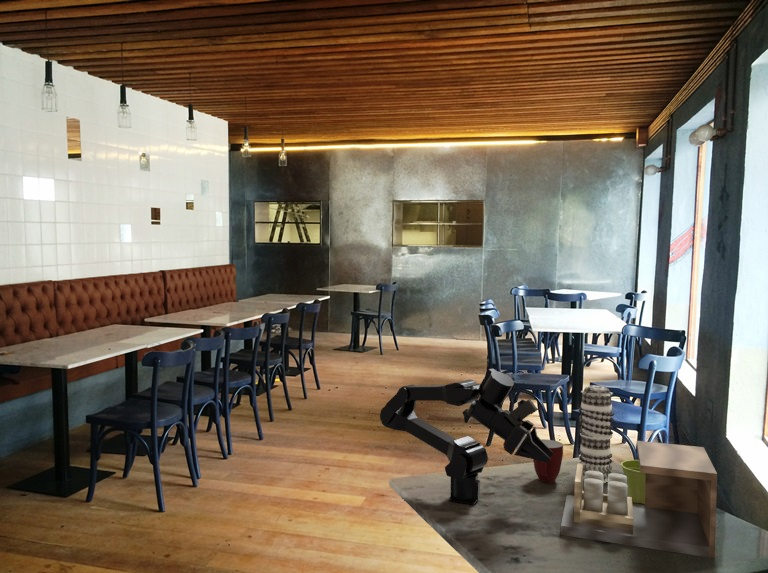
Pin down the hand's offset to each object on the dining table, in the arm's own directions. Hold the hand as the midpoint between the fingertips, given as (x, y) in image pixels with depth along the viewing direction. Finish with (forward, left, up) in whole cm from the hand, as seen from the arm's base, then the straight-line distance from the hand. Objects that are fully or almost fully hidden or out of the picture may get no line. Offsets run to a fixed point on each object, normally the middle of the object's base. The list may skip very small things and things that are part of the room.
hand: (551, 458), depth 142 cm
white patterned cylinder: (+9, +31, -14) cm, 35 cm away
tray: (+12, 0, -12) cm, 16 cm away
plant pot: (+20, +18, -14) cm, 31 cm away
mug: (-3, +23, -14) cm, 27 cm away
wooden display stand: (+18, 0, -14) cm, 22 cm away
